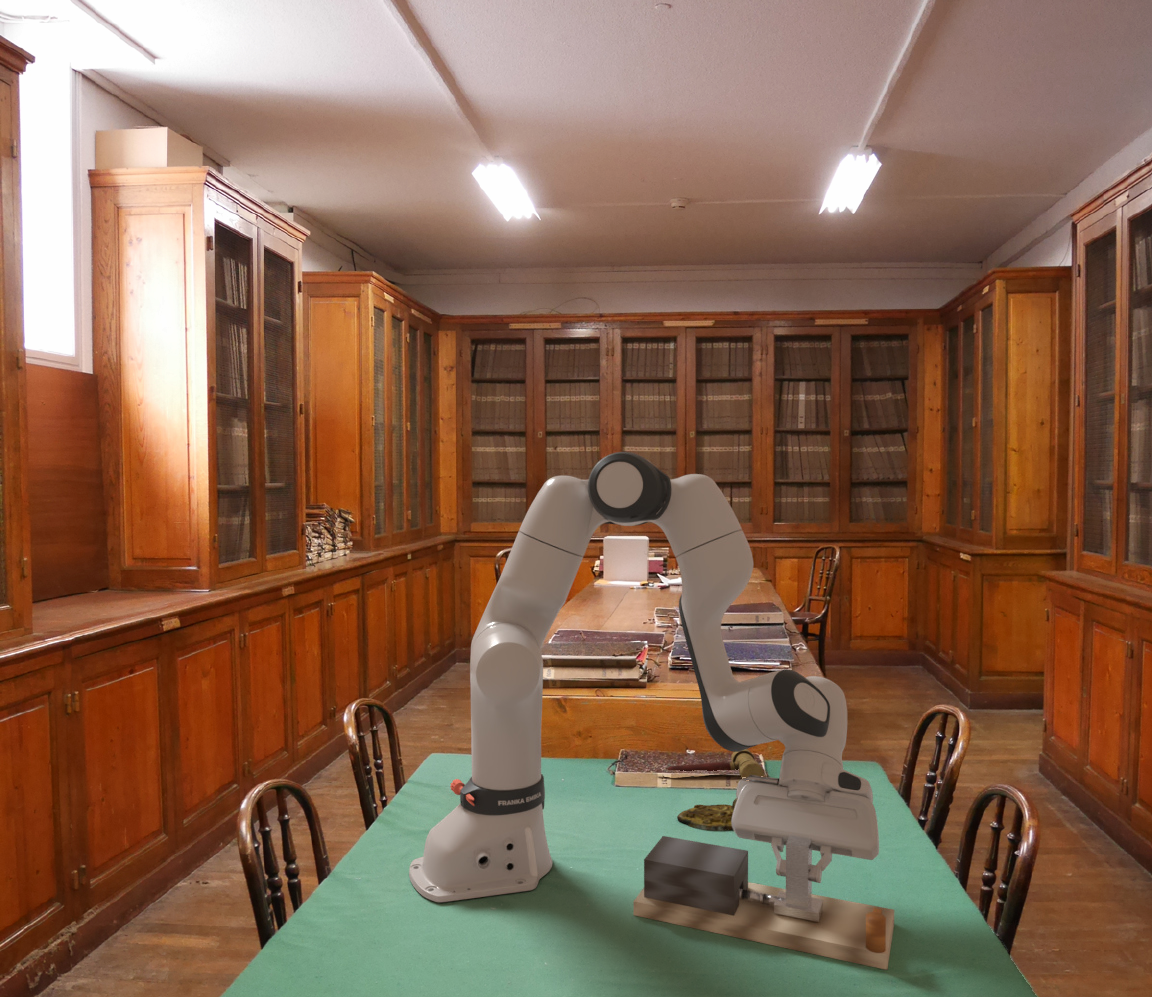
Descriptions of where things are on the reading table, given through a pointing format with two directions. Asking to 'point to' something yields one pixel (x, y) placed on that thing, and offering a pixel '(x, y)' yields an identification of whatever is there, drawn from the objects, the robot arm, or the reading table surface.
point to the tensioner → (753, 905)
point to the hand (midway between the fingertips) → (798, 877)
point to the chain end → (793, 885)
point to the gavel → (729, 765)
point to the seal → (709, 817)
